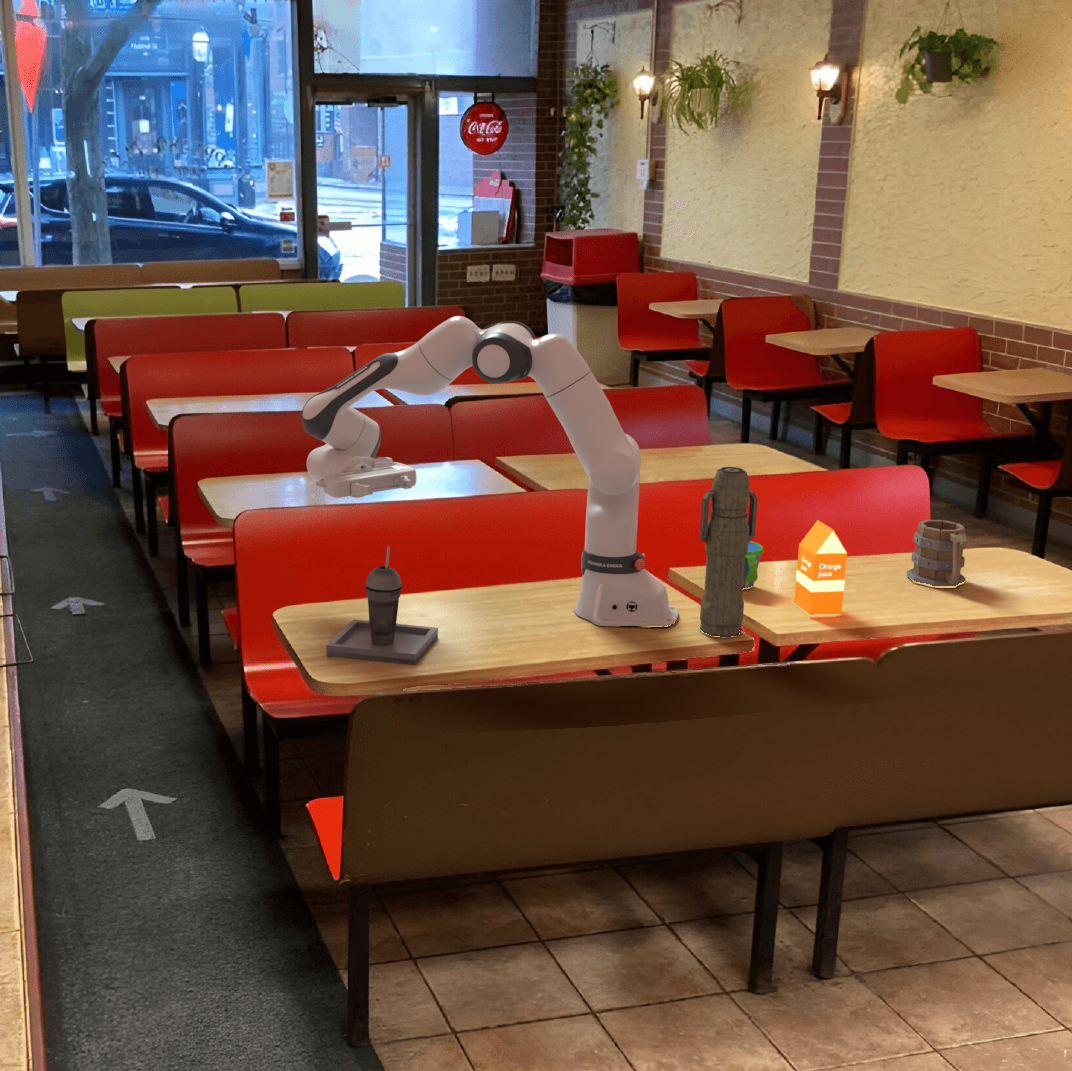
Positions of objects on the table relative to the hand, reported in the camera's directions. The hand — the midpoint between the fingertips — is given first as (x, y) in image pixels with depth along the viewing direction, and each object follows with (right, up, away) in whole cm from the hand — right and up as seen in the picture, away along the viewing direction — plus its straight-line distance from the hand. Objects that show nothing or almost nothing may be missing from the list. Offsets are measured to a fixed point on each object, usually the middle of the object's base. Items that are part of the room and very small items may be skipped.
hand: (389, 488), depth 274 cm
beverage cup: (0, -31, -9) cm, 32 cm away
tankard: (+127, -22, +44) cm, 136 cm away
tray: (0, -32, -8) cm, 33 cm away
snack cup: (+77, -22, +38) cm, 89 cm away
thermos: (+69, -30, +7) cm, 76 cm away
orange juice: (+93, -27, +22) cm, 99 cm away
